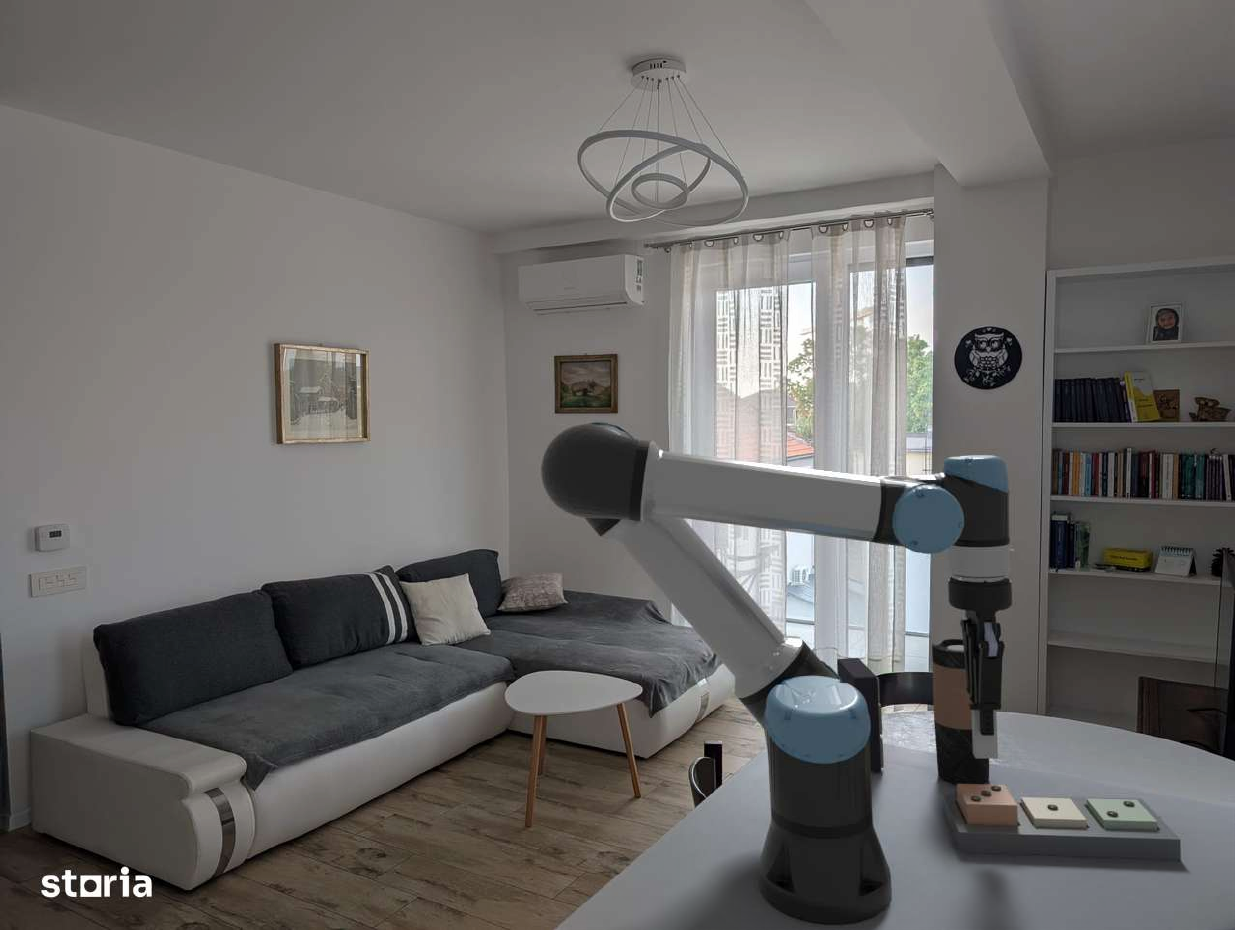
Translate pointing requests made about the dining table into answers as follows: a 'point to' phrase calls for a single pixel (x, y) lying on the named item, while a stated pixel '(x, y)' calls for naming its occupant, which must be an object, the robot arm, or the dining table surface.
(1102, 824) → the button two
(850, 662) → the calculator
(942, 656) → the travel mug
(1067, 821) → the button one
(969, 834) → the keypad board
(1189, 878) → the dining table surface
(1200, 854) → the dining table surface
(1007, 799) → the button three
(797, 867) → the robot arm
